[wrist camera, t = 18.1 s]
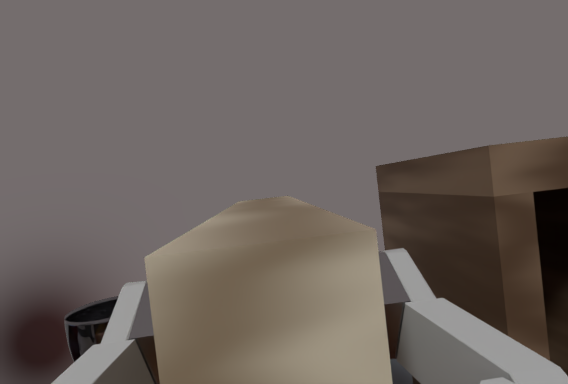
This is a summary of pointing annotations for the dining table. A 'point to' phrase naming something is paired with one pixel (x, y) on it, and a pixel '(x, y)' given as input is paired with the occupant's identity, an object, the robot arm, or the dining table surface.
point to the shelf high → (489, 234)
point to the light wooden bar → (270, 299)
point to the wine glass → (88, 325)
